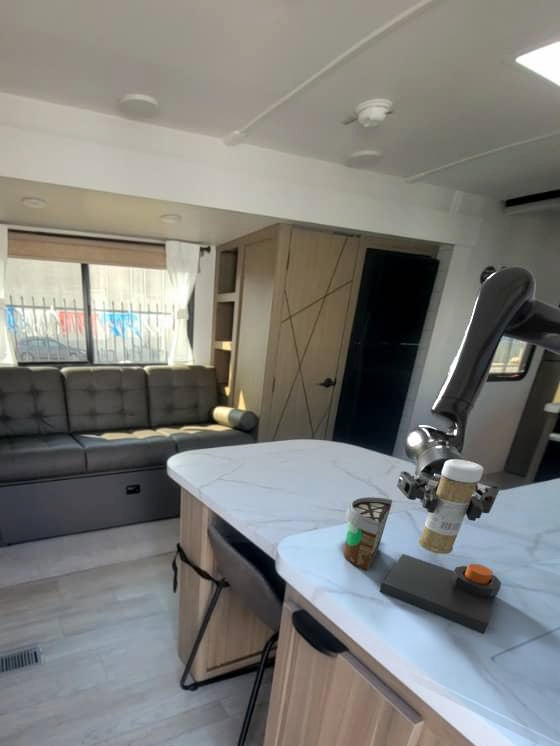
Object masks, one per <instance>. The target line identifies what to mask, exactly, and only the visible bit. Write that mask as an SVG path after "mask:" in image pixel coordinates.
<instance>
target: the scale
mask: <svg viewBox="0 0 560 746" xmlns="http://www.w3.org/2000/svg"><path fill="white" fill-rule="evenodd" d="M467 567H468V565H461V566H455V568H454V570H452V569H449V568H445V567H442V566H441V565H437V564H434V563H432V562H428V561H425V560H422V559H420V558H416V557H414V556H411V555H408V554H404V553H402V555H401V556H400V557H399V559H398V560H397V561H396V563H395V564H394V565H393V567H392V568H391V570H390V571H389V572H388V573H387V575H386V577H384V579H383V581H382V582H381V584H380V588H379V591H378V592H379V593H381V594H383V595H386V596H388V597H391V598H393V599H395V600H398V601H401V602H403V603H405V604H408V605H411V606H413V607H415V608H418V609H421V610H423V611H426V612H428V613H431V614H433V615H436V616H437V617H440V618H443V619H446V620H447V621H449V622H452V623H454V624H457V625H460V626H463V627H465V628H467V629H470V630H472V631H475V632H477V633H480V634H482V635H485V632H486V631H487V628H488V626H489V623H490V619H491V616H492V612H493V608H494V604H495V601H496V596H497V595H498V593H499V591H500V589H501V586H502V581H501V580H500V579H499V578H498V577H497V576H496V575H494V574H492V576H491V579H490V581H489V583H488V584H480V583H477V582H474V581H471V580H470V579H468V578H466V577H465V572H466V570H467Z"/></svg>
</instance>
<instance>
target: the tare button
mask: <svg viewBox="0 0 560 746" xmlns="http://www.w3.org/2000/svg"><path fill="white" fill-rule="evenodd" d="M467 566H468V567H467V570H466V572H465V577H466V578H468V579H470V580H471V581H474V582H477V583H480V584H488V583H489V581H490V579H491V576H492V575H494V573H493V570H492V569H490V568H489V567H487V566H484V565H483V564H478V563H470V564H468V565H467Z"/></svg>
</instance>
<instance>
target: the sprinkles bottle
mask: <svg viewBox="0 0 560 746" xmlns="http://www.w3.org/2000/svg"><path fill="white" fill-rule="evenodd" d="M484 470H485V469H484V467H483V466H482V465H480V464H479V463H477V462H476V463H475V462H473V461H469V460H465V459H464V460H448V461H446V462H445V464H444V467H443V469H442V472H441V473H442V475H441V480H440V483H439V486H438V489H437V492H436V494H437V497H438V502H437V505H436V508H435V511H434V513H429V512H428V514H427V516H426V520H425V523H424V528H423V530H422V533H421V536H420V538H419V540H418V544H419V546H420V547H422V548H423V549H425V550H426V551H428V552H431V553H434V554H438V555H447V554H450V553H452V552H453V550H454V544H455V542H456V539H457V537H458V534H459V532H460V530H461V527H462V525H463V522H464V520H465V517H466V512H467V509H468V507H469V504H470V501H471V498H472V495H473V493H474V490H475V487H476V484H477V485H478V484H479V482H480V480H481V478H482V475H483V474H484Z"/></svg>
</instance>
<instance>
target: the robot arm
mask: <svg viewBox="0 0 560 746" xmlns="http://www.w3.org/2000/svg"><path fill="white" fill-rule="evenodd" d="M536 290H537V283H536V278H535V276H534V274H533V272H532V271H531V270H530V269H529V268H527V267H525V266H520V265H513V266H512V265H511V266H507V267H503V268H501V269H498V270H497V271H495V272H493V273H491V274H490V275H489V276H488V277H487V278H486V279H485V280H484V281H482V284H481V285H480V286H479V288H478V291H477V293H476V297H475V301H474V305H473V308H472V313H471V315H470V319H469V321H468V325H467V328H466V331H465V332H464V336H463V338H462V341H461V344H460V346H459V348H458V351H457V353H456V355H455V357H454V360H453V361H452V364H451V366H450V368H449V371H448V373H447V374H446V376H445V379H444V381H443V383H442V385H441V386H440V389H439V391H438V393H437V395H436V398H435V399H434V401H433V404H432V406H431V408H430V414H431V416H432V417H433V418H434V419H435V420H437V421H439V422H440V423H442V424H443V425H444V426H445V427H446V429H447V431H444V430H441V429H438V428H436V427H432V426H429V425H419V426H416V427H415V428H413V429H412V430H410V431H409V432H408V434H407V435H406V437H405V439H404V442H403V453H404V456H405V457H406V459H407V460H408V461H409V462H410V463H411V464H412V465H414V466H415V470H414V475H415V476H414V475H413V474H410V472H408V471H405V470H403V471H401V472H400V473H399V477H398V481H397V484H396V487H397V488H398V489H399V491H401V493H402V494H403V495H404V496H405V497H406V498H407V499H408V500H411V501H415V500H417V499H418V500H419V501H420V503H421V505H422V508H423V509H426V512H427V513H428V514H429V513H434V511H435V508H436V505H437V502H438V497H437V494H436V492H437V489H438V486H439V483H440V480H441V475H442V473H441V472H442V469H443V467H444V464H445V462H446V461H448V460H465V458H464V457H463V455H464V451H465V447H466V439H467V432H468V427H469V422H470V418H471V416H472V413H473V411H474V409H475V407H476V405H477V403H478V401H479V398H480V397H481V395H482V392H483V390H484V388H485V385H486V383H487V381H488V377H489V374H490V371H491V367H492V366H493V362H494V359H495V357H496V353H497V351H498V348H499V345H500V343H501V341H502V338H503V337H505V338H508V339H513V340H515V341H520V342H524V343H528V344H530V345H534V346H537V347H540V348H542V349H545V350H547V351H549V352H552V353H554V354H556V355H559V356H560V307H558V306H555V305H552V304H549V303H547V302H544V301H542V300H541V299H538V298H536ZM500 490H501V487H499V486H497V485H490V486H489V487H488V486H487V487H485V488H482V487H479V485H478V484H476V487H475V490H474V493H473V495H472V498H471V501H470V504H469V507H468V509H467V512H466V514H465V516H466V517H467V520H468V521H472V522H475V521H476V520H477V519H478V520H479V519H481V517H482V514H490V512H491V510H492V509H493V506H494V504H495V502H496V499H497V496H498V495H499V492H500Z"/></svg>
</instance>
